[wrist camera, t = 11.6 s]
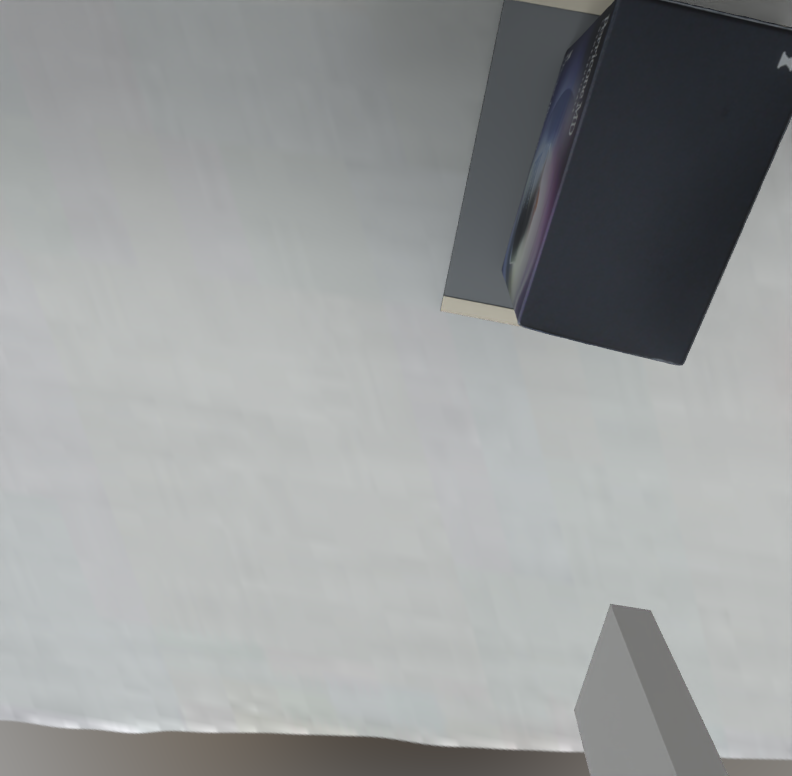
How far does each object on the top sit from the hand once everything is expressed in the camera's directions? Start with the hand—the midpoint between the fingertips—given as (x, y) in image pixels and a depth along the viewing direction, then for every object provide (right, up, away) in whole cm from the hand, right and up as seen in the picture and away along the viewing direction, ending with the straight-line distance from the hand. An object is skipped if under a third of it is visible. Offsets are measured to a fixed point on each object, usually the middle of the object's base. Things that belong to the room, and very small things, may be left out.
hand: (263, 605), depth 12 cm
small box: (+12, +14, +17) cm, 25 cm away
